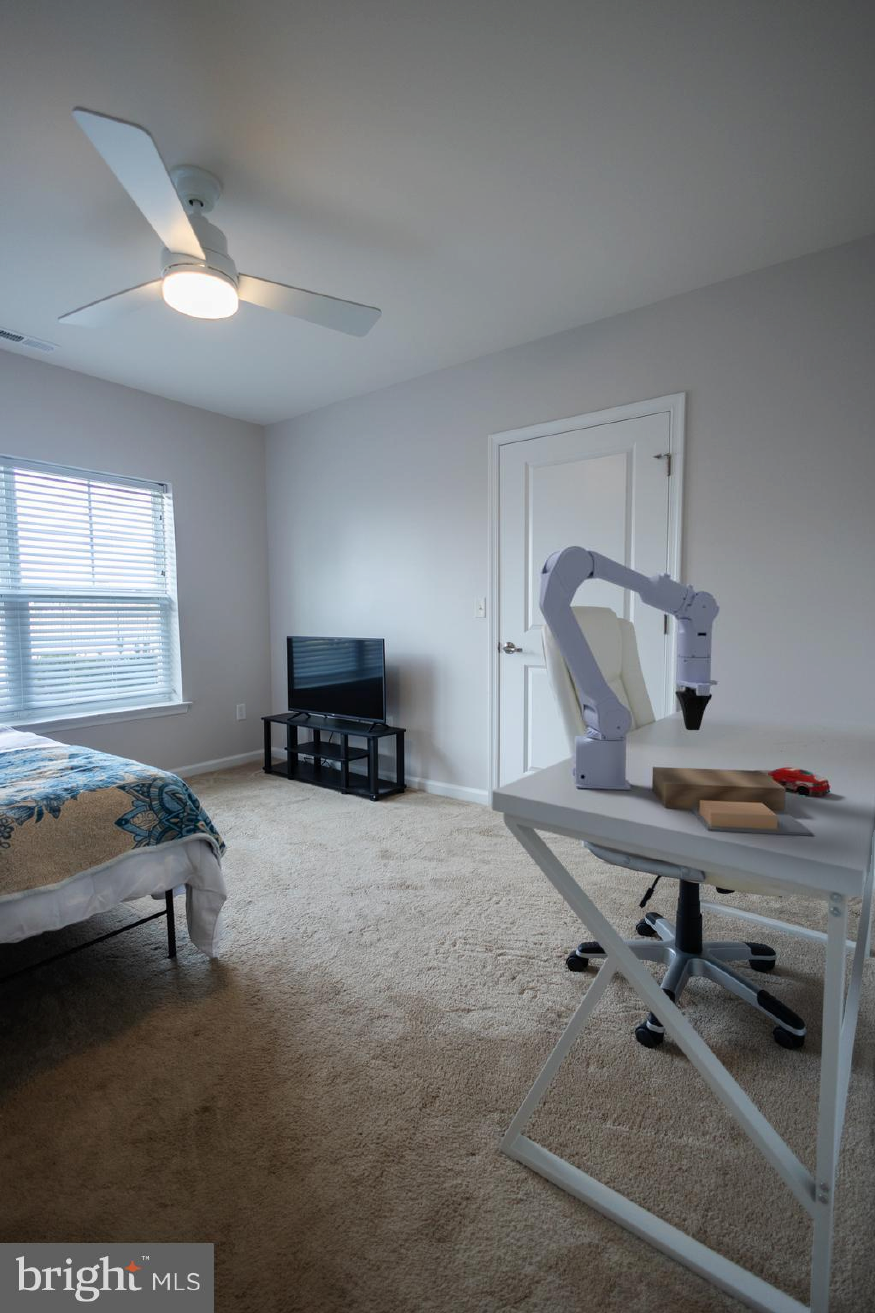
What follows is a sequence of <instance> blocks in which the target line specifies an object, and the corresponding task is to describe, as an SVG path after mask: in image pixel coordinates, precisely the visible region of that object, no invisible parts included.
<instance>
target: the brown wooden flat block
mask: <svg viewBox="0 0 875 1313" xmlns="http://www.w3.org/2000/svg"><path fill="white" fill-rule="evenodd" d="M651 782H652V784H651V785H652V787H651V789H652V791H653V792H654V793H655V796H656V797H657V798H658V800H659V802H660V803H661V804H662V806H663V807H664V808H665V807H666V808H665V809H679V810H680V809H681V810H683V809H686V810H687V809H688V810H691V807H700V800H702V801H725V802H749V803H763V804H764V805H765V806H766V807H767V808H769V809H770V810H777V811H786V792H787V791H786V788H784V787H783V786H782V785H780V784H779V783H777V782H776V781H774V780H773V779H771V778H770V777H769V776H767V775H766V774H764V773H763V772H761V771H754V770H745V769H741V770H740V769H722V768H719V769H715V768H694V767H693V768H691V767H689V768H688V767H666V766H665V767H664V766H663V767H661V766H660V767H659V766H652V781H651Z"/></svg>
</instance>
